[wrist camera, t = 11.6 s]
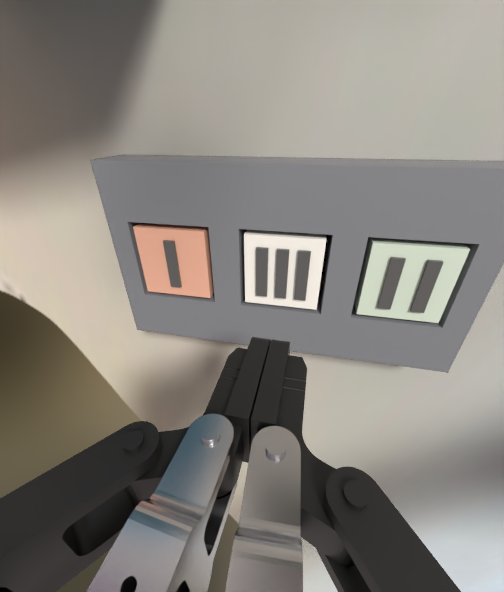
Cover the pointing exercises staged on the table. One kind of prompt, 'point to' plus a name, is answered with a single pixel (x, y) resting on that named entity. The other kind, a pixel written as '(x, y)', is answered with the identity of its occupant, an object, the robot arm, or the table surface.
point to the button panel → (316, 220)
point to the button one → (175, 259)
